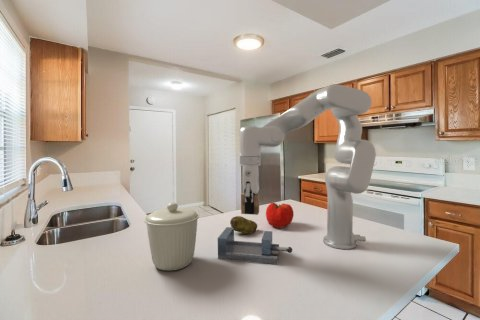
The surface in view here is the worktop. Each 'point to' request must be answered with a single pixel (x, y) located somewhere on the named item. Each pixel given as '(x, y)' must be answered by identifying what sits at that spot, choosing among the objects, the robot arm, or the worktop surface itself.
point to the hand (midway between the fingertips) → (250, 211)
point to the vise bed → (243, 249)
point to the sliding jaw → (268, 246)
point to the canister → (172, 236)
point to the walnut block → (255, 200)
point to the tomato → (279, 215)
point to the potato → (243, 225)
